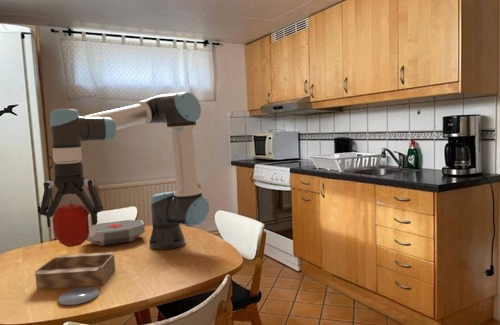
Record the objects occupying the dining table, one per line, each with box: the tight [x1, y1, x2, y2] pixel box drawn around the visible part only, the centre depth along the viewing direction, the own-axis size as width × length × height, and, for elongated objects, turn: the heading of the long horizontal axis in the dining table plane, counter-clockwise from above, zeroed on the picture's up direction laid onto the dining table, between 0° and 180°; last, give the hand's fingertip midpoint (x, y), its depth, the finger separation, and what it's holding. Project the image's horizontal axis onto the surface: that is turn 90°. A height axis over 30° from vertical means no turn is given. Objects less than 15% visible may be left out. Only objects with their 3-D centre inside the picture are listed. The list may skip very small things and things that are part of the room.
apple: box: [53, 199, 90, 248], centre depth 108 cm, size 10×10×14 cm
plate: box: [57, 286, 99, 306], centre depth 109 cm, size 11×11×1 cm
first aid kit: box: [86, 219, 146, 247], centre depth 167 cm, size 18×8×25 cm
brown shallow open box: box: [33, 251, 116, 290], centre depth 124 cm, size 21×18×6 cm
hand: (73, 236), depth 108 cm, fingers closed on apple, 10 cm apart
